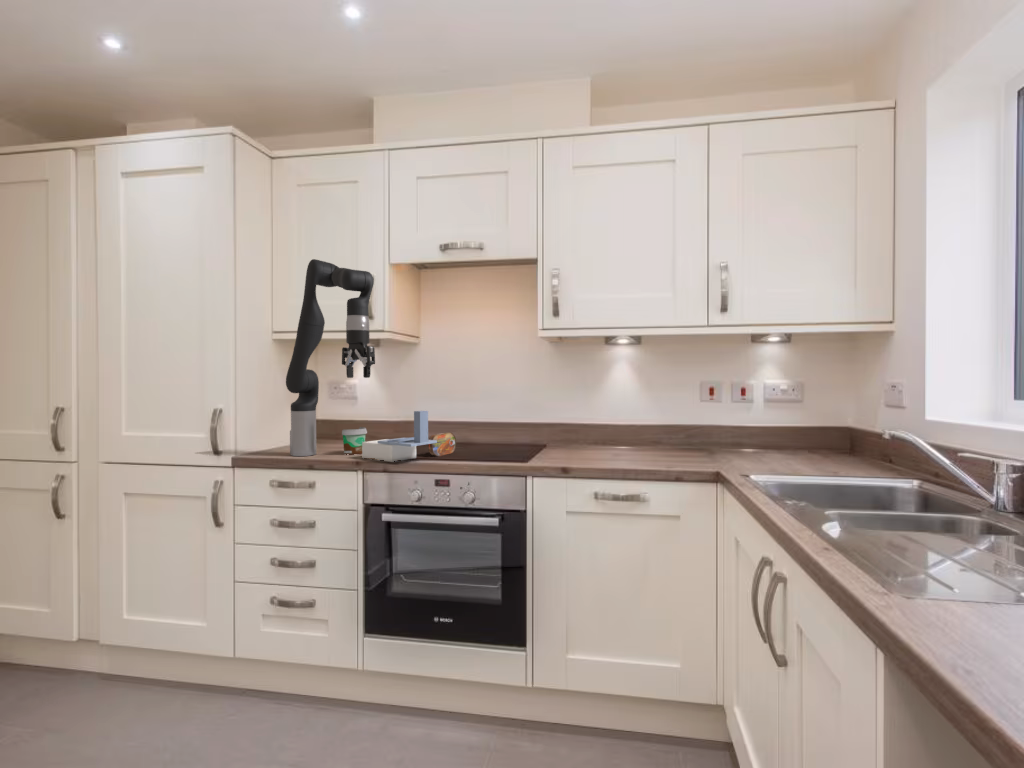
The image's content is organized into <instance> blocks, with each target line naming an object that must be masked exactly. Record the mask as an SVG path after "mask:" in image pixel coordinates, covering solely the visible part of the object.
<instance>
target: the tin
mask: <svg viewBox="0 0 1024 768" xmlns="http://www.w3.org/2000/svg"><path fill="white" fill-rule="evenodd" d="M428 440H437V443H432V444H427V448H428V452H429V454H430V455H432V457H433V456H435V457H442V456H446V455H451V454H453V453H454V451H455V450H456V447H457V439H456V436H455V435H454V433H453V432H450V431H449V432H443V433H441V432H440V433H436V434H435V433H434V434H432V435H431V436H430V437H428Z"/></svg>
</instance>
